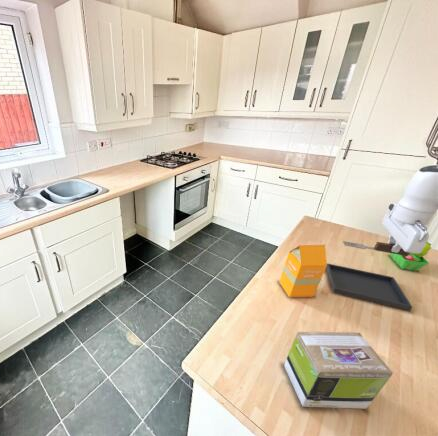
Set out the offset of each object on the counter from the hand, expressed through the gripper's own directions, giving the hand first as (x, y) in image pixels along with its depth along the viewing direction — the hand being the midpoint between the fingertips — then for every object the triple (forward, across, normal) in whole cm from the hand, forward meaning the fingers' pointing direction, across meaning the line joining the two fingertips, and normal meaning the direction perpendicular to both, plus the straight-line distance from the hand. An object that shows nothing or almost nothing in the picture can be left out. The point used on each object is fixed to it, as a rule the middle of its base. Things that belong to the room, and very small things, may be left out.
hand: (392, 248), depth 86 cm
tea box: (+15, -51, +25) cm, 59 cm away
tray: (+15, -5, +5) cm, 17 cm away
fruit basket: (+15, +17, -15) cm, 28 cm away
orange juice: (+15, -16, +28) cm, 36 cm away
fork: (+1, 0, +4) cm, 5 cm away
